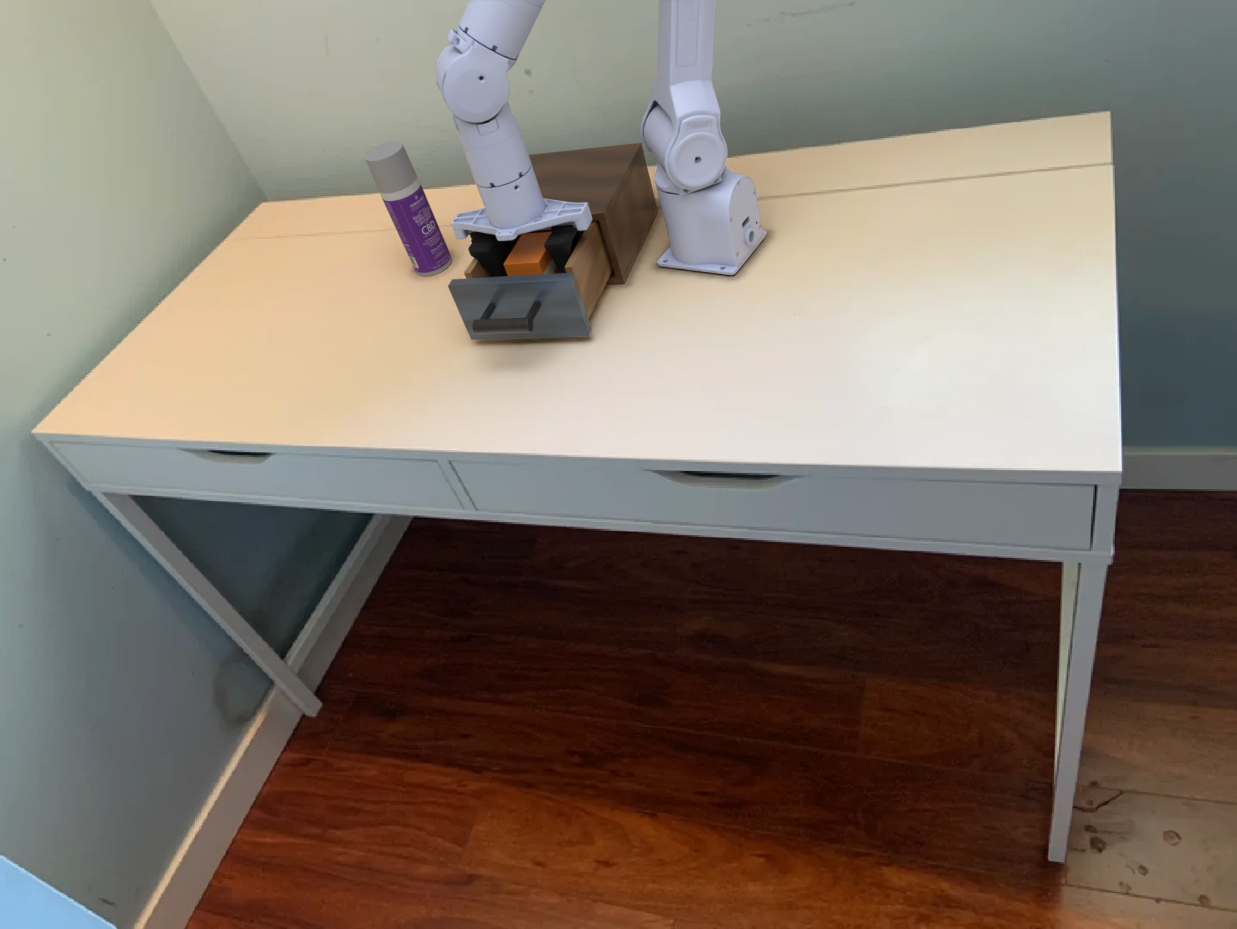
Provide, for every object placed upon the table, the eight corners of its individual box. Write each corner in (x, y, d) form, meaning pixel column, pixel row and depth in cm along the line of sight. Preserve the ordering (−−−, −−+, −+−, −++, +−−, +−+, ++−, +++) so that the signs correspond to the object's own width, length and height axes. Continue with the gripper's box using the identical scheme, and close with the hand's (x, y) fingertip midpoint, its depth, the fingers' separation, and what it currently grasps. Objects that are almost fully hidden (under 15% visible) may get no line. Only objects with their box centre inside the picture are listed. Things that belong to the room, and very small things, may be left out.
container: (445, 274, 114) (395, 157, 104) (410, 278, 115) (357, 163, 105) (457, 252, 117) (409, 137, 107) (423, 256, 118) (372, 143, 108)
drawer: (576, 363, 93) (555, 305, 88) (455, 365, 98) (430, 311, 93) (625, 259, 104) (609, 203, 100) (515, 266, 109) (495, 213, 105)
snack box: (554, 307, 99) (538, 262, 95) (519, 308, 100) (502, 264, 97) (571, 275, 102) (556, 230, 99) (537, 277, 104) (521, 233, 100)
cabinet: (624, 284, 102) (603, 212, 97) (503, 290, 108) (476, 223, 102) (658, 211, 112) (641, 142, 106) (545, 220, 117) (523, 155, 112)
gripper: (421, 200, 92) (470, 315, 101) (558, 187, 87) (597, 310, 96) (450, 163, 97) (494, 276, 106) (582, 149, 92) (616, 269, 100)
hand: (544, 290), depth 101 cm, fingers open, 6 cm apart
